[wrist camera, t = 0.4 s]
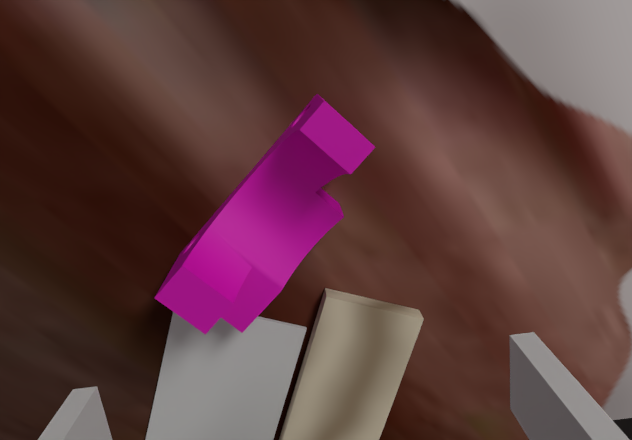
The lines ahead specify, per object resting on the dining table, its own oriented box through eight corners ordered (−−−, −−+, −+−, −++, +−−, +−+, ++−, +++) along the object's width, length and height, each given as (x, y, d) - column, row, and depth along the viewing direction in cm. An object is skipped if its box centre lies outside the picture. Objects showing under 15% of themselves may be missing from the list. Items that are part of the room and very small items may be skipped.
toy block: (247, 303, 38) (237, 357, 31) (180, 252, 37) (154, 298, 30) (383, 154, 35) (407, 176, 28) (316, 93, 34) (324, 100, 27)
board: (276, 448, 42) (275, 462, 40) (325, 287, 38) (326, 296, 36) (362, 464, 43) (364, 478, 41) (418, 309, 39) (423, 319, 37)
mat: (145, 439, 41) (144, 442, 41) (176, 298, 37) (175, 300, 37) (265, 462, 42) (265, 464, 42) (306, 327, 39) (306, 329, 38)
